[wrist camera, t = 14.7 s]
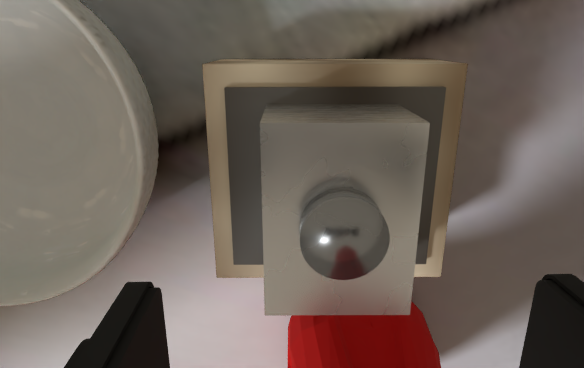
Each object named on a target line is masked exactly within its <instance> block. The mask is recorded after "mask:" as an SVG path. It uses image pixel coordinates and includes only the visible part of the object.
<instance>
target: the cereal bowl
mask: <svg viewBox="0 0 584 368" xmlns="http://www.w3.org/2000/svg"><path fill="white" fill-rule="evenodd" d="M158 146H159V144H158V134H157V126H156V123H155V115H154V113H153V106H152V104H151V101H150V96H149V95H148V92H147V88H146V86H145V84H144V83H143V81H142V77H141V75H140V74H139V73H138V70H137V67H136V65H135V64H134V63H133V62H132V60H131V58H130V56H129V55H128V53H127V51H126V50H125V48H124V47H123V46H122V45H121V43H120V42H119V40H118V39H117V38H116V37H115V36H114V34H113V33H112V32H111V31H110V30H109V29H108V28H107V27H106V25H105V24H104V23H103V22H102V21H101V20H100V19H99V18H97V16H96V15H94V13H93V12H92V11H91V10H90V9H88V8H87V7H85V6H84V5H83V4H82V3H81V2H80V1H79V0H0V306H15V305H23V304H30V303H35V302H40V301H43V300H47V299H50V298H53V297H56V296H58V295H61V294H63V293H65V292H68V291H70V290H72V289H74V288H76V287H78V286H79V285H81V284H83V283H85V282H86V281H88V280H89V279H91V278H92V277H93V276H95V275H96V274H97V273H99V272H100V271H102V270H103V269H104V268H105V267H106V265H107V264H108V263H109V262H110V261H111V260H113V259H114V258H115V257H116V256H117V254H118V252H119V251H120V250H121V249H122V248H123V247H124V246H125V243H126V242H127V241H128V239H129V238H130V236H131V235H132V234H133V231H134V230H135V229H136V228H137V226H138V224H139V222H140V219H141V217H142V215H143V214H144V212H145V209H146V206H147V204H148V202H149V199H150V197H151V192H152V191H153V187H154V181H155V177H156V174H157V167H158V157H159V154H158Z"/></svg>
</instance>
